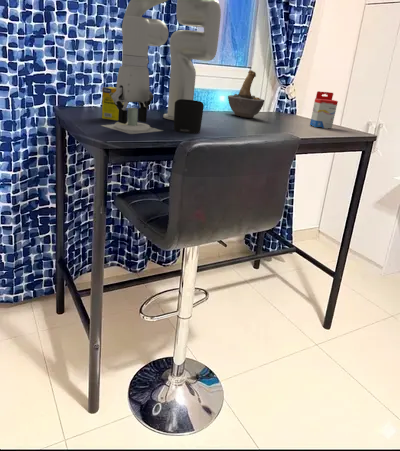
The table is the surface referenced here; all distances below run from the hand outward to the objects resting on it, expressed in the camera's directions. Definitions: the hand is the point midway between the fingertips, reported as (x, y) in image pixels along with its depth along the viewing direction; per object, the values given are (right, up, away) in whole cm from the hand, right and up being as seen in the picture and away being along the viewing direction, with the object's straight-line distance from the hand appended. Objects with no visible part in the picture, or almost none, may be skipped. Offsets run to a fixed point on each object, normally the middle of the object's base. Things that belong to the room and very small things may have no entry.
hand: (132, 121), depth 131 cm
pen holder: (+17, -2, +7) cm, 18 cm away
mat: (0, -2, +1) cm, 2 cm away
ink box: (+74, +10, +51) cm, 91 cm away
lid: (0, -2, +1) cm, 2 cm away
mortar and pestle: (+41, +16, +57) cm, 72 cm away
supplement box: (-9, +3, +13) cm, 16 cm away
